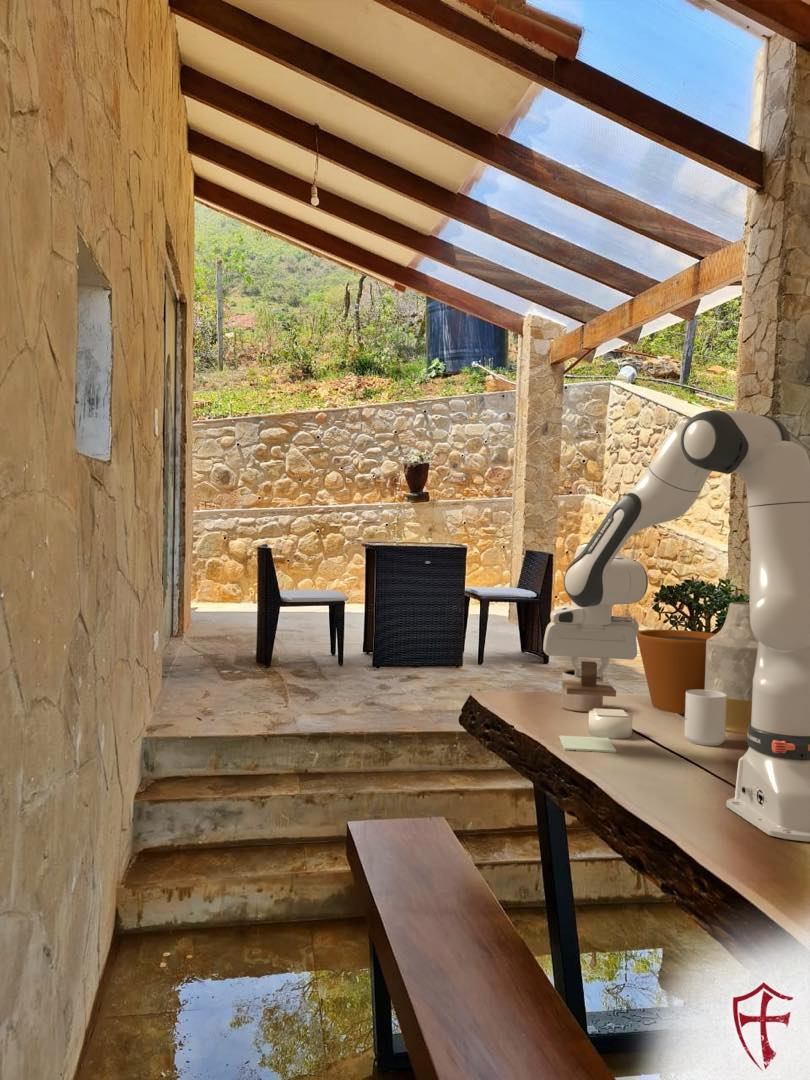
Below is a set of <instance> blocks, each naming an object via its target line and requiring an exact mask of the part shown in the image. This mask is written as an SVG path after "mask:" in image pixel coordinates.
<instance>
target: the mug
mask: <svg viewBox="0 0 810 1080" xmlns="http://www.w3.org/2000/svg"><path fill="white" fill-rule="evenodd" d="M726 707H727V695H726V694H724V693H721V692H717V691H710V690H688V691H686V699H685V714H684V728H683V729H684V730H683V735H684V737H685V739H686V740H687V741H688V742H689V743H691V744H694V745H699V746H709V747H717V746H720V745H722V744H723V743H724V742H725V740H726Z"/></svg>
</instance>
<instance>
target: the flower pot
mask: <svg viewBox="0 0 810 1080" xmlns="http://www.w3.org/2000/svg"><path fill="white" fill-rule="evenodd" d="M716 634H717V633H711V632H704V631H694V630H684V629H683V630H682V629H643V630H639V632H638V635H637V636H636V641H637V645H638V647H639V652H640V657H641V661H642V665H643V671H644V675H645V679H646V682H647V688H648V692H649V696H650V701H651V705H653V706H652V707H653V708H654V707H655V708H654V709H656V708H657V709H656V710H658V709H659V711H661V712H666V713H672V714H678V715H685V699H686V691H688V690H705V665H706V641H707V639H709V638H711V637H713V636H714V635H716Z"/></svg>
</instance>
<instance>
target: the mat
mask: <svg viewBox="0 0 810 1080" xmlns="http://www.w3.org/2000/svg"><path fill="white" fill-rule="evenodd" d="M558 738H560V739H559V741H560V740H561V741H560V744H561V746H562V745H563V746H562V748H563V747H564V748H563V749H565V750H564V751H569V750H572V751H573V750H576V751H575V752H589V751H593V753H609V754H610V753H611V754H613V753H616V754H617V749H616V748H615V746H614V745H613V742H611V739H610V738H602V737H597V736H577V735H574V736H573V735H558ZM573 752H574V751H573Z"/></svg>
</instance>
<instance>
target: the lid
mask: <svg viewBox="0 0 810 1080" xmlns="http://www.w3.org/2000/svg"><path fill="white" fill-rule="evenodd" d="M580 662H581V664H580V669H582V670H583V672H582V678H581V681H577V680H562V679H561V688H562V687H563V688H564V690H565V692H566V693H567V694H575V695H594V696H603V697H614V698H615V697H617V690H616V689H615V688H614V687H613V686H612V684H610V682H608V681H603V682H596V678H597V669H598V663H597V662H596V661H586V660H585V661H583V660H582V661H580Z"/></svg>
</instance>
